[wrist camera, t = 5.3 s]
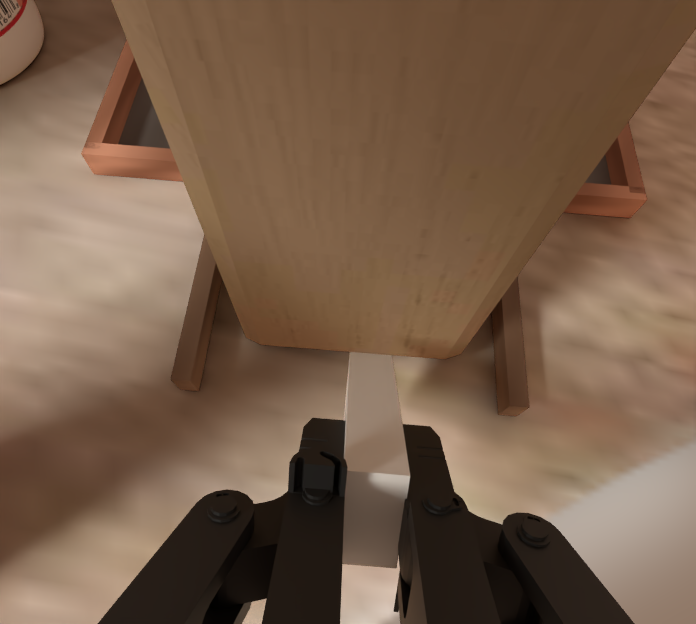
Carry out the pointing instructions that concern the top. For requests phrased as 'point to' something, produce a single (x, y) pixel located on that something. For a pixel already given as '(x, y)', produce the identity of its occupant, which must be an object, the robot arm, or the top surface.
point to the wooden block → (389, 147)
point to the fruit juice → (18, 36)
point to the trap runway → (158, 163)
